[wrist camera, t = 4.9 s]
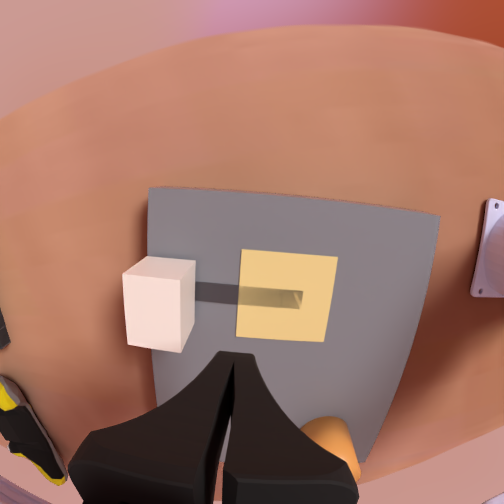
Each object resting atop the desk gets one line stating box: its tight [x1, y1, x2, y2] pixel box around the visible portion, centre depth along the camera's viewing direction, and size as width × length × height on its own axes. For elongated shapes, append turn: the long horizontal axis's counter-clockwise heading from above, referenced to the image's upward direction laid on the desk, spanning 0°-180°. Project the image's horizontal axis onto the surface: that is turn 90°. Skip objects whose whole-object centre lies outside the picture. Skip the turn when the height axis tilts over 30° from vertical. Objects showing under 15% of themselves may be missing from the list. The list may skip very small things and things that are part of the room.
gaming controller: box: [0, 376, 68, 486], centre depth 24 cm, size 15×6×10 cm
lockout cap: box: [300, 416, 361, 482], centre depth 19 cm, size 4×4×6 cm
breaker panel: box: [147, 186, 440, 463], centre depth 21 cm, size 18×22×4 cm
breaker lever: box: [122, 256, 196, 353], centre depth 17 cm, size 3×4×4 cm
